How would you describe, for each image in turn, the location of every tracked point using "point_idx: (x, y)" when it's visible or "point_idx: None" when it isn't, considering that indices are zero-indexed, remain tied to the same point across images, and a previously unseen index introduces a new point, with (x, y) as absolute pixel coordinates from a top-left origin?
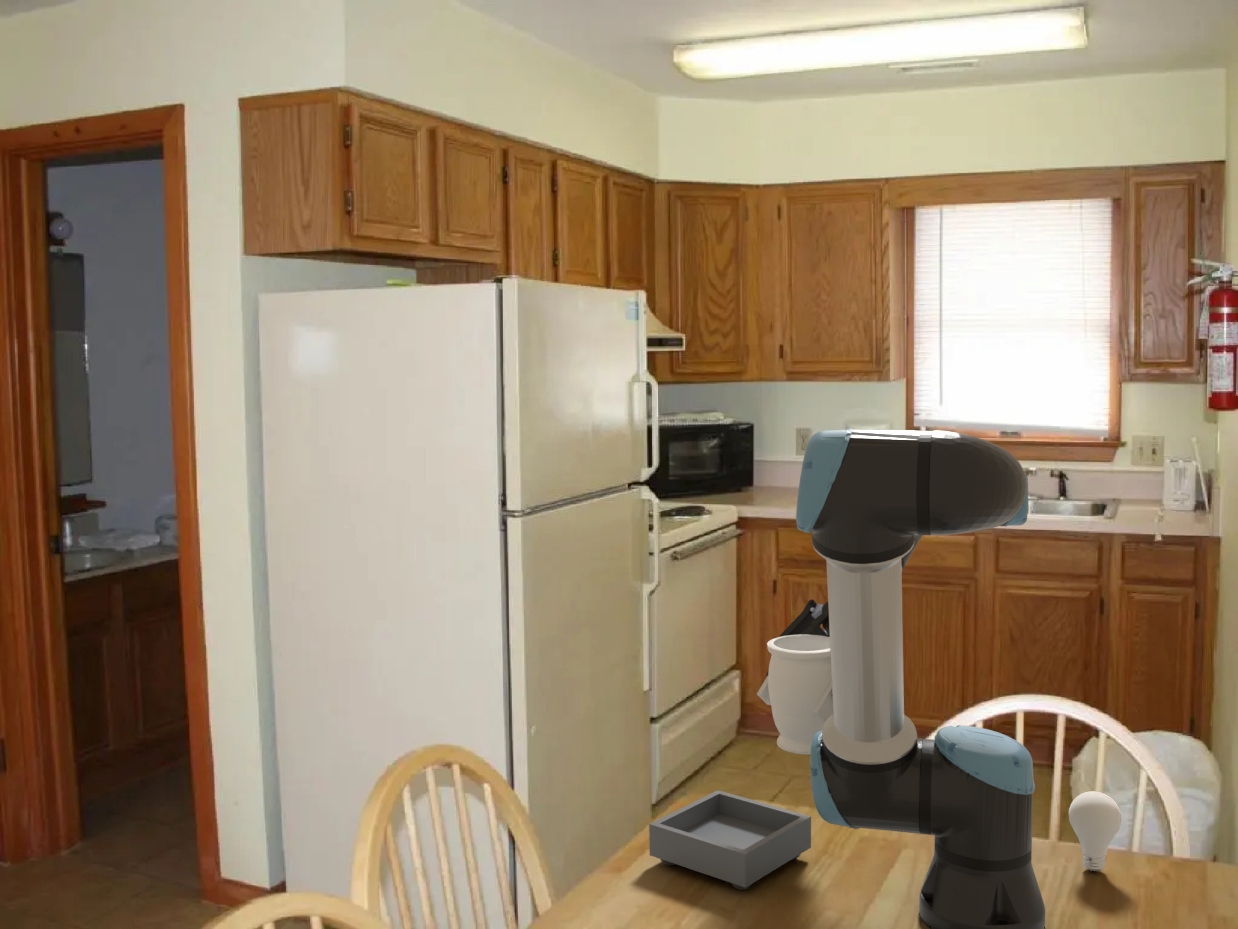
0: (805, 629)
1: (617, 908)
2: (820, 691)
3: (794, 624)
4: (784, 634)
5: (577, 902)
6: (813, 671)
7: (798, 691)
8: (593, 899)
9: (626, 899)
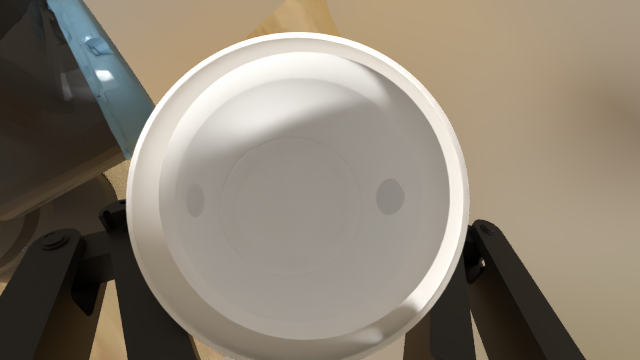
0: (472, 335)
1: (292, 18)
2: (205, 156)
3: (552, 339)
4: (517, 277)
5: (318, 7)
6: (205, 125)
7: (247, 116)
8: (314, 17)
9: (299, 31)
